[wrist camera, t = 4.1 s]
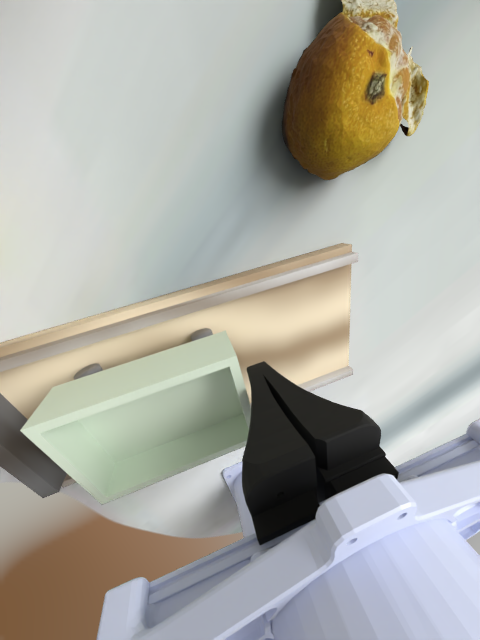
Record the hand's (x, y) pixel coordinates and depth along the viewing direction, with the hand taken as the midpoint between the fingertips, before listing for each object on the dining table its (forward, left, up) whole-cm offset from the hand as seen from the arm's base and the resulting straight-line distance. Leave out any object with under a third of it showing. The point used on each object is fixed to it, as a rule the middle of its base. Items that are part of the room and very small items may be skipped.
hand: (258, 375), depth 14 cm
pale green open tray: (0, +6, -2) cm, 7 cm away
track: (0, +4, -3) cm, 5 cm away
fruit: (+17, -11, -5) cm, 20 cm away
